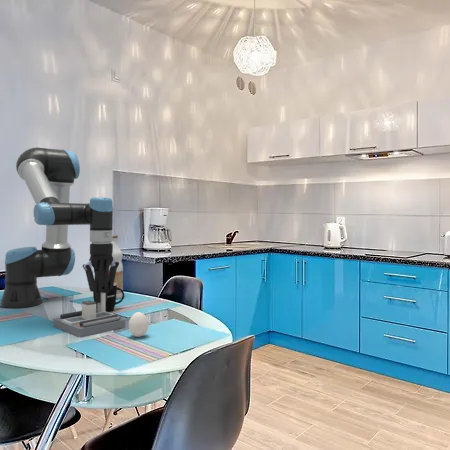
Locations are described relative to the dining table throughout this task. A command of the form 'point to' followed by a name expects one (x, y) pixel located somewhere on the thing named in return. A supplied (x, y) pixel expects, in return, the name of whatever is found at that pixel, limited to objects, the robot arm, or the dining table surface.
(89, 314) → the light grey boxy piece
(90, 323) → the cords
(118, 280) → the fruit juice
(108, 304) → the mug
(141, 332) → the egg
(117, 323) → the grey compartment tray
